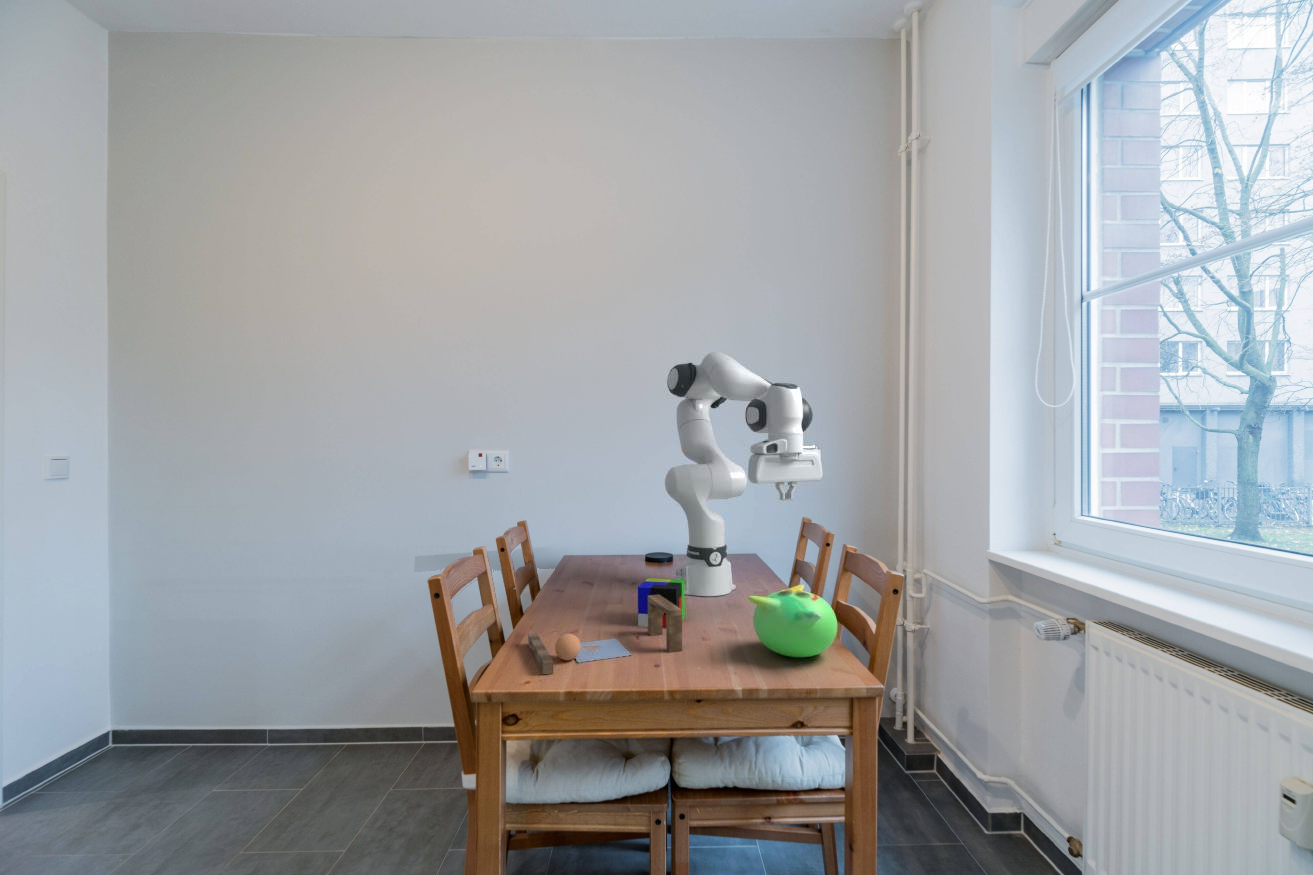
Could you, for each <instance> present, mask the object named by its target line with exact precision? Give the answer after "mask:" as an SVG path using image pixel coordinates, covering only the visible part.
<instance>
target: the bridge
mask: <svg viewBox="0 0 1313 875" xmlns="http://www.w3.org/2000/svg"><path fill="white" fill-rule="evenodd" d="M662 611H663V612H664V613H665V614H666V628H665V630H666V635H665V637H666V638H665V639H666V643H665V644H666V650H667V652H669V653H675V652H682V651H683V621H682V609H680V608H679V607H677V606H676V605H674V604H673V603H671V602H670V601H668V600H667V599H665V598H664V597H662V596H661V595H649V596H648V627H647V634H648V635H649V636H650V637H651V636H653V637H654V636H660V635H663V632H664V631H663V629H664V628H663V626H662Z"/></svg>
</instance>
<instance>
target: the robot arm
mask: <svg viewBox="0 0 1313 875" xmlns="http://www.w3.org/2000/svg"><path fill="white" fill-rule="evenodd" d="M666 382H667V383H666V384H667V389H668V391H669V392H670V393H671V394H672V395H673V396H676V397H678V398H685V399H683V400H681V401H680V402H679V403H678V404H677V407H676V428H677V432H678V434H677V435H678V438H679V444H680V448H681V452H682V454H683V456H685V457H686V459H688V460H690V461H692V462H695V463H696V464H695V463H693V464H682V465H677V466H674V467H670V469H669V470H668V471H667V473H666V475H665V478H664V487H665V491H666V492H667V495H669V496H670V498H671V499H673V500H674V501H675V502H677V503H678V505H679V506H680V507H681V508H682V510H683V512H684V514H685V516H686V520H687V525H688V526H687V528H688V529H687V530H688V544H687V545H686V546H687V548H686V555H685V556H686V557H685V558H684V559H683V561H681V562H680V564H679V565H678V568H676V569H675V576H676V577H678V578H676V579H675V578H674V579H675V580H684V595H690V596H699V597H717V596H718V597H719V596H724V595H728V594H730V593H731V592H732V591H733V590H735V589H737V586H736V584H734V583H733V578H732V577H733V575H732V564H731V562H730V561H729V560H728V559H727V556H728V546H727V544H726V521H725V519H724V517H723V516H721V514H719V513H717V512H715V511H714V510H711V509H709V507H708V504H707V503H708V502H707V500H708V501H709V500H711V501H712V500H728V499H733V498H736V497H740V496H742V495H743V494H744V492H745V491H746V489H747V485H748V480H749V482H750V483H752V484H757V485H758V484H774V483H775V484H774V485H775V489H776V491H778V493H779V500H780V501H793V499H794V493H795V491H796V489H797V487H798V483H801V482H820V481H821V480H822V478H823V475H824V474H823V465H822V460H821V459H822V458H821V457H822V456H821V449H820V448H819V447H817V446H816V445H804V432H806V430H807V429H809V427H810V426H811V423H812V421H813V416H814V415H813V414H814V413H813V410H812V407H811V405H810V404H809V402H808V401H807V400H806V399H805V398H804V397H802V392H801V388H800V387H799V386H798V385H797V384H794V383H786V382H774V383H772V382H771V381H769V380H767V379H765V378H764V377H761V376H759V375H758V374H756V373H754V372H752V371H751V370H749V369H748V368H746V367H744V366H743V365H742V364H741V363H739V362H738V361H737V360H735V359H734V358H733V357H731V356H730V355H729V354H726V353H724V352H721V351H712V352H710V353H707V354H706V355H705V357H703V359H702V361H701V363H700V364H698V365H697V364H693V362H688V363H680V364H676V365H674V366H673V367H672V368H671V369H670V371H669V373H668V376H667V380H666ZM727 400H728V401H737V402H738V401H739V402H749V403H748V405H747V406H746V408H745V413H744V414H745V415H744V416H745V423H746V425H747V426H748V428H749V429H750V430H751V431H752V432H754V433H758V434H767V438H766V439H764V440H762V441H759V442H757V443H754V444H752V445H750V453H751V456H750V457H749V460H748V464H747V465H748V468H747V470H748V471H747V474H746V471H745V470H744V469H743V468H742V466H741V465H739V464H737V463H735V462H733V461H732V460H730V458H728V457H727V456H726V455H725V453H724V452H723V451H722V450H721V448H720V447H719V445H718V443H717V440H716V437H715V433H714V429H713V426H712V421H711V418H710V409H711V408H712V409H717V408H719V407H720V405H721V404H724V403H725V402H726V401H727ZM785 483H787V487H788V490H787V491H786V492H785V489H784V487H785Z"/></svg>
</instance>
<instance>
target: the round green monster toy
mask: <svg viewBox="0 0 1313 875" xmlns="http://www.w3.org/2000/svg"><path fill="white" fill-rule="evenodd" d="M804 588H805V584H797V585H795V586H792V587H790V588H787V589H781V590H777V591H773V592H772V593H771V592H770V593H769V594H767V595H765V596H759V595H748V597H747V599H748V600H749V602H752V603H753V604H755V605H757V606H756V608H755V610H754V612H753V619H752V620H753V621H752V622H753V629H754V632H755V634H756V636H757V638H758V639H759V641H760V642H761V643H762V644H763V645H765V647H767V648H768V649H769V650H770V651H773V653H774V652H775V653H777V654H779V655H782V656H784V657H785V656H786V657H790V658H810V657H813V656H817V655H819V654H821V653H823V652H825V651H826V650H827V649H828V648H829V647H831V645H832V644H833V643H834V641H835V638H836V636H837V632H838V620H837V616H836V613H835V612H834V610H833V608H832V607H831V605H830V604H829V602H827V601H826V600H825V599H824V598H822V597H820V596H819V595H817V594H815V593H812V592H809V591H806V590H804Z"/></svg>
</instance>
